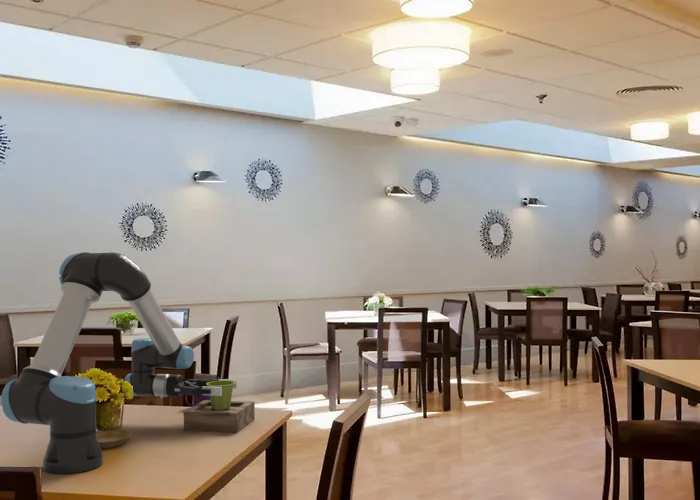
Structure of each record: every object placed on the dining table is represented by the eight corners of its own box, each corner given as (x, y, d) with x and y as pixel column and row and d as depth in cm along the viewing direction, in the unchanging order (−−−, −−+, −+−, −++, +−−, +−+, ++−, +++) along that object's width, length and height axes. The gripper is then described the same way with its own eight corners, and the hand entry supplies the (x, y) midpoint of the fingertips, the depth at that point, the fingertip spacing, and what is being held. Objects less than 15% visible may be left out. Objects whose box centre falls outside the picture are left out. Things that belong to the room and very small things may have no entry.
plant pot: (232, 411, 242) (232, 385, 242) (204, 412, 242) (203, 385, 242) (237, 405, 251) (237, 380, 251) (209, 406, 251) (209, 380, 251)
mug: (214, 408, 272) (214, 389, 272) (188, 411, 267) (188, 392, 267) (207, 404, 278) (207, 386, 278) (181, 408, 272) (181, 389, 272)
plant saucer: (116, 451, 214) (115, 442, 214) (69, 449, 216) (69, 440, 216) (139, 439, 228) (139, 430, 228) (95, 437, 231) (95, 428, 231)
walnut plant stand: (237, 432, 234) (237, 412, 234) (183, 430, 237) (183, 411, 238) (254, 419, 252) (254, 401, 252) (204, 418, 255) (204, 400, 255)
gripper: (185, 390, 261) (242, 391, 256) (152, 404, 236) (214, 406, 232) (185, 368, 261) (242, 370, 256) (152, 380, 236) (214, 382, 232)
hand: (229, 387), depth 244 cm, fingers open, 13 cm apart
